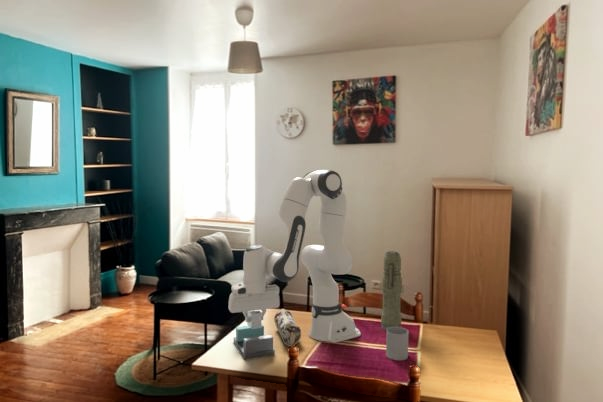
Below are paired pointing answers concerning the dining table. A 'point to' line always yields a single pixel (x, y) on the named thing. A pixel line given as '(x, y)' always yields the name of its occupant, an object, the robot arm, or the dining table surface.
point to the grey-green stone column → (391, 291)
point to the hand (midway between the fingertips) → (254, 320)
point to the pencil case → (287, 327)
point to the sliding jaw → (248, 332)
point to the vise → (255, 347)
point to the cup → (397, 343)
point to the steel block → (254, 319)
